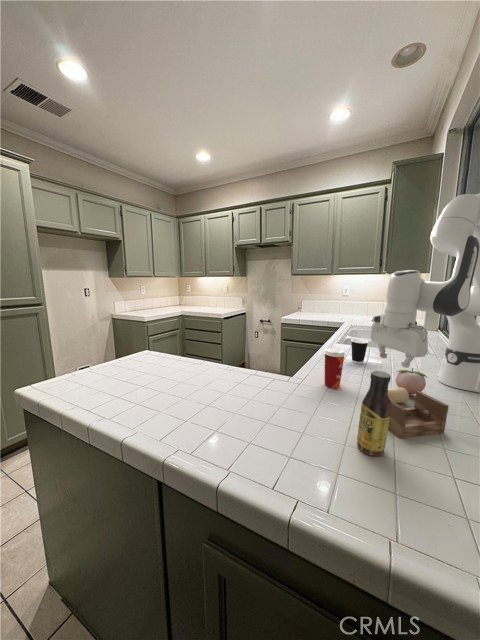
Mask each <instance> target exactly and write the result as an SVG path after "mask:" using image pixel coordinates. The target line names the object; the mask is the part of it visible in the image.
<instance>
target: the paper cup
mask: <svg viewBox="0 0 480 640" xmlns="http://www.w3.org/2000/svg"><path fill="white" fill-rule="evenodd" d="M323 353H324V385H326V386H325V387H327V388H331V389H338V388H340V386H341V380H342V376H343V375H342V373H343V368H344V363H345V362H344V361H345V356H346V353H345V350H343V349H340V348H336V347H335V348H334V347H328V348H325V350H324V352H323Z"/></svg>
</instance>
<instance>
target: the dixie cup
mask: <svg viewBox="0 0 480 640" xmlns="http://www.w3.org/2000/svg"><path fill="white" fill-rule="evenodd" d="M350 341H351V360H352V362H351V363H354V364H359V365H362V364H363V363H364V361H365V357H366V353H367V348H368V345H369V344H368V343H369V341H368V340H366V339H362V338H352V339H350Z"/></svg>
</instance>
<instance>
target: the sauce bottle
mask: <svg viewBox="0 0 480 640" xmlns="http://www.w3.org/2000/svg"><path fill="white" fill-rule="evenodd" d="M370 372H371V373H370V384H369V385H370V386H369V388H368V391H367V392H366V394H365V396H364V398H363V399H362V402H361V407H360V413H359V420H358V421H359V422H358V429H357V435H356V437H357V438H356V445H357V448H358V449H359V450H360V451H361V452H363V453H364V454H366V455H367V456H374V457H379V456H382V455H383V454H384V453H385V448H386V444H387V438H388V431H389V430H388V426H389V419H390V410H391V401H390V399H389V397H388V394H387V393H388V388H389V383H390V382H391V374H390V373H388V372H386V371H382V370H381V371H380V370H372V371H370Z"/></svg>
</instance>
